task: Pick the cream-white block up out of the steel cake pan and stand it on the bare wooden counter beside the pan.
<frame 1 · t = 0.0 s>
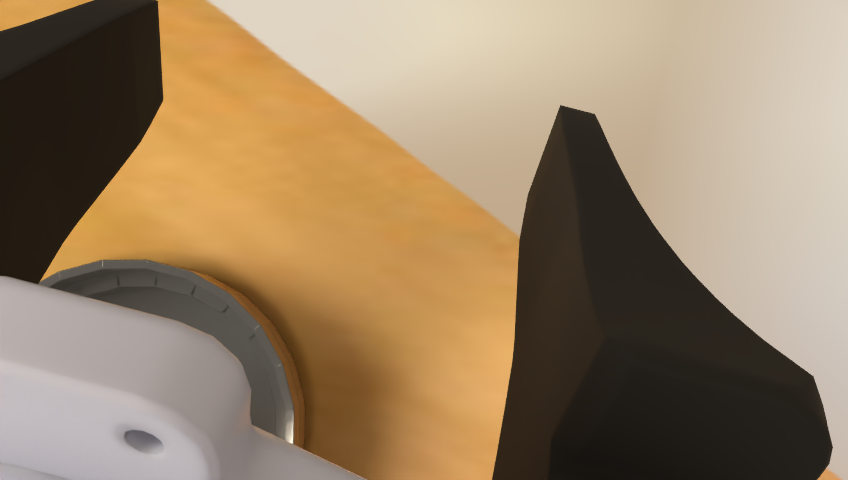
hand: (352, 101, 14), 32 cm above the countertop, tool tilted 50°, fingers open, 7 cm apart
steel cake pan: (147, 422, 45), on the countertop
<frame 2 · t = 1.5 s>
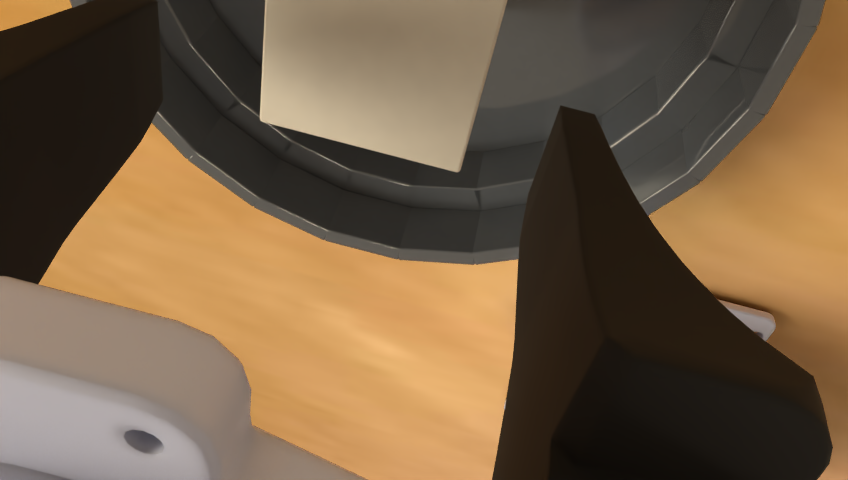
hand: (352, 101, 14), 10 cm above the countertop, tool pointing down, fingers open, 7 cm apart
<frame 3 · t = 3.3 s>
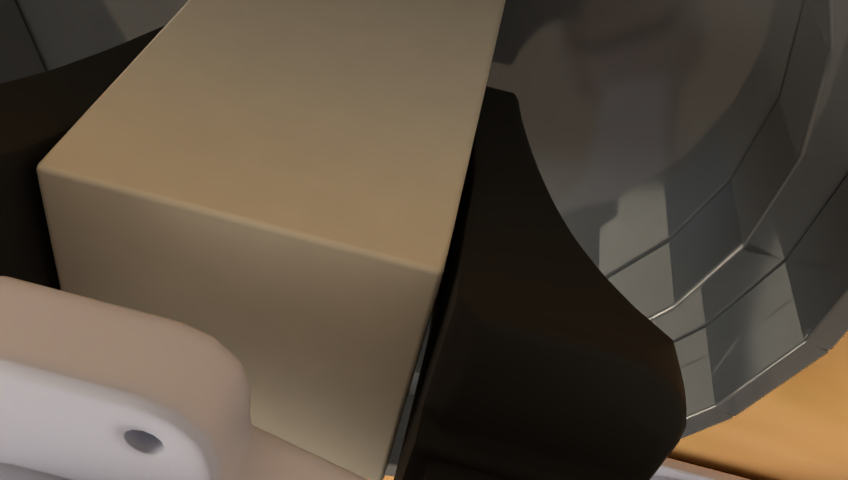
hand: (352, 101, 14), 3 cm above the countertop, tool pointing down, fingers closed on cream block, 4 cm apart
cream block: (377, 42, 15), resting on steel cake pan, touching gripper
steel cake pan: (382, 33, 16), on the countertop
when the fingers open (2 cm above the countertop, at t = 8.7 s): cream block stays where it is, on the countertop.
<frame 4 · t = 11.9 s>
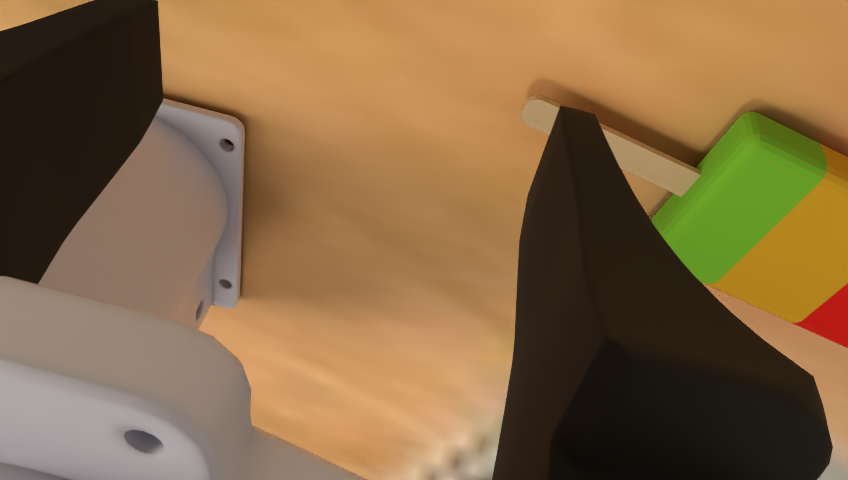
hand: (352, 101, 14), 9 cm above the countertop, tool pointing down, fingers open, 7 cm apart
popsicle: (736, 186, 25), on the countertop
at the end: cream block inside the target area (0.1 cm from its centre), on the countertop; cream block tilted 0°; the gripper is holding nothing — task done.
